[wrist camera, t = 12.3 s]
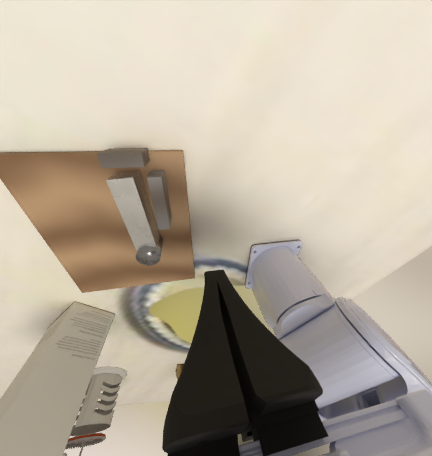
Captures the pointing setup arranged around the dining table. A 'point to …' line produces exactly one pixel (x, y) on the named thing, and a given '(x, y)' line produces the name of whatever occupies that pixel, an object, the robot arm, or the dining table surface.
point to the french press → (101, 417)
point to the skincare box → (53, 384)
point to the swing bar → (137, 215)
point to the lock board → (103, 212)
